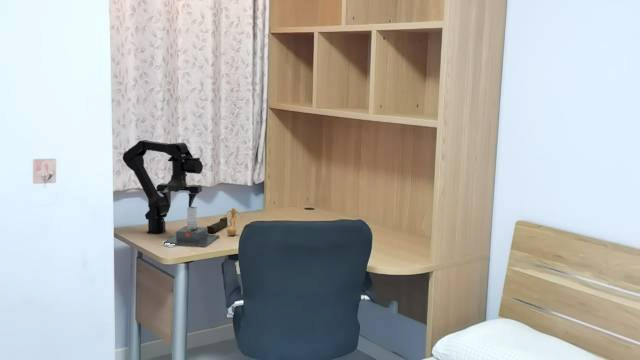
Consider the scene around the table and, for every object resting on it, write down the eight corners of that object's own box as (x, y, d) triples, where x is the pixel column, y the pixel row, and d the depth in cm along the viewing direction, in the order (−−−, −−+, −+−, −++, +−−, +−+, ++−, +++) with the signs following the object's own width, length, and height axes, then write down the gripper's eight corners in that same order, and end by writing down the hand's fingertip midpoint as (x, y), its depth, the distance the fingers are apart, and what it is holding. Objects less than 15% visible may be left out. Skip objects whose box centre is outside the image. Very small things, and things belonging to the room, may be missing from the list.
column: (187, 229, 296) (186, 207, 294) (189, 228, 299) (189, 206, 297) (194, 230, 295) (194, 208, 294) (197, 228, 298) (196, 207, 297)
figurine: (221, 236, 308) (221, 208, 306) (225, 233, 314) (225, 206, 312) (239, 237, 306) (239, 209, 304) (243, 234, 312) (243, 207, 310)
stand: (163, 244, 290) (163, 231, 290) (179, 235, 308) (179, 222, 307) (205, 247, 287) (205, 233, 286) (219, 237, 305) (219, 224, 304)
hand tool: (213, 235, 311) (213, 224, 310) (205, 234, 312) (205, 223, 311) (232, 226, 328) (232, 216, 328) (224, 225, 330) (224, 216, 329)
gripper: (150, 173, 298) (151, 210, 300) (193, 175, 294) (193, 212, 297) (161, 170, 308) (161, 205, 311) (202, 172, 305) (202, 207, 307)
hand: (179, 207), depth 306 cm, fingers open, 9 cm apart
